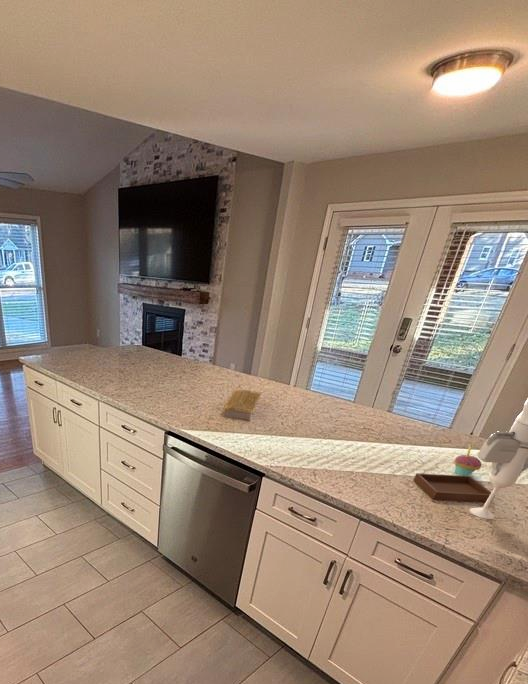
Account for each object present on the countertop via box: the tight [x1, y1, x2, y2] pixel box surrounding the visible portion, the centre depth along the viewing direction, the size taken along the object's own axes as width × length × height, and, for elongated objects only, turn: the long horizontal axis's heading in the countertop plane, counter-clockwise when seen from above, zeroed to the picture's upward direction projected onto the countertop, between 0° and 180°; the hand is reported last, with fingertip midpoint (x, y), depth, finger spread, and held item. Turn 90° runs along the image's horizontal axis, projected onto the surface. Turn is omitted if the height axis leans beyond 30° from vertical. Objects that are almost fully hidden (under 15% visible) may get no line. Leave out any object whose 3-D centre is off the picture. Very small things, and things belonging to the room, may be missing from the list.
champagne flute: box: [469, 447, 528, 520], centre depth 128 cm, size 7×7×24 cm
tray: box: [412, 472, 496, 504], centre depth 145 cm, size 20×14×3 cm
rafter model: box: [222, 389, 262, 421], centre depth 210 cm, size 35×14×6 cm, turn 160°
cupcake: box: [453, 444, 482, 476], centre depth 155 cm, size 9×8×12 cm
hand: (504, 475), depth 127 cm, fingers closed on champagne flute, 5 cm apart
